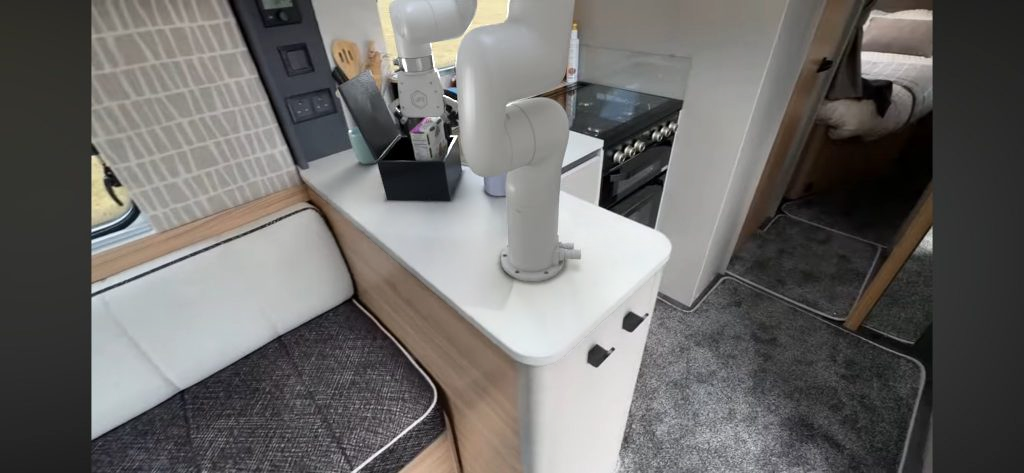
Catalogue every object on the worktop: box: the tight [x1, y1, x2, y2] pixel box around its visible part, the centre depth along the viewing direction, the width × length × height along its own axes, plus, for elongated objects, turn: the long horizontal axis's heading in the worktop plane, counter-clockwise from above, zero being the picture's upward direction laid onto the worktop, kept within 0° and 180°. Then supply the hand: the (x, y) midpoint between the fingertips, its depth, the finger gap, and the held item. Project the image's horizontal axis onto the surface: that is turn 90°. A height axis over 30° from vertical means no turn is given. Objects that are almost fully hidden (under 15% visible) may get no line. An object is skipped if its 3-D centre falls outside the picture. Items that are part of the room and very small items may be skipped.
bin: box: [376, 135, 463, 202], centre depth 99 cm, size 17×17×11 cm
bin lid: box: [335, 68, 400, 160], centre depth 92 cm, size 17×17×5 cm
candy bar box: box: [410, 117, 448, 161], centre depth 97 cm, size 11×5×16 cm, turn 169°
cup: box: [347, 126, 381, 165], centre depth 113 cm, size 8×8×10 cm
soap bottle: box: [483, 172, 508, 197], centre depth 92 cm, size 9×9×24 cm
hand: (429, 137), depth 94 cm, fingers open, 9 cm apart
